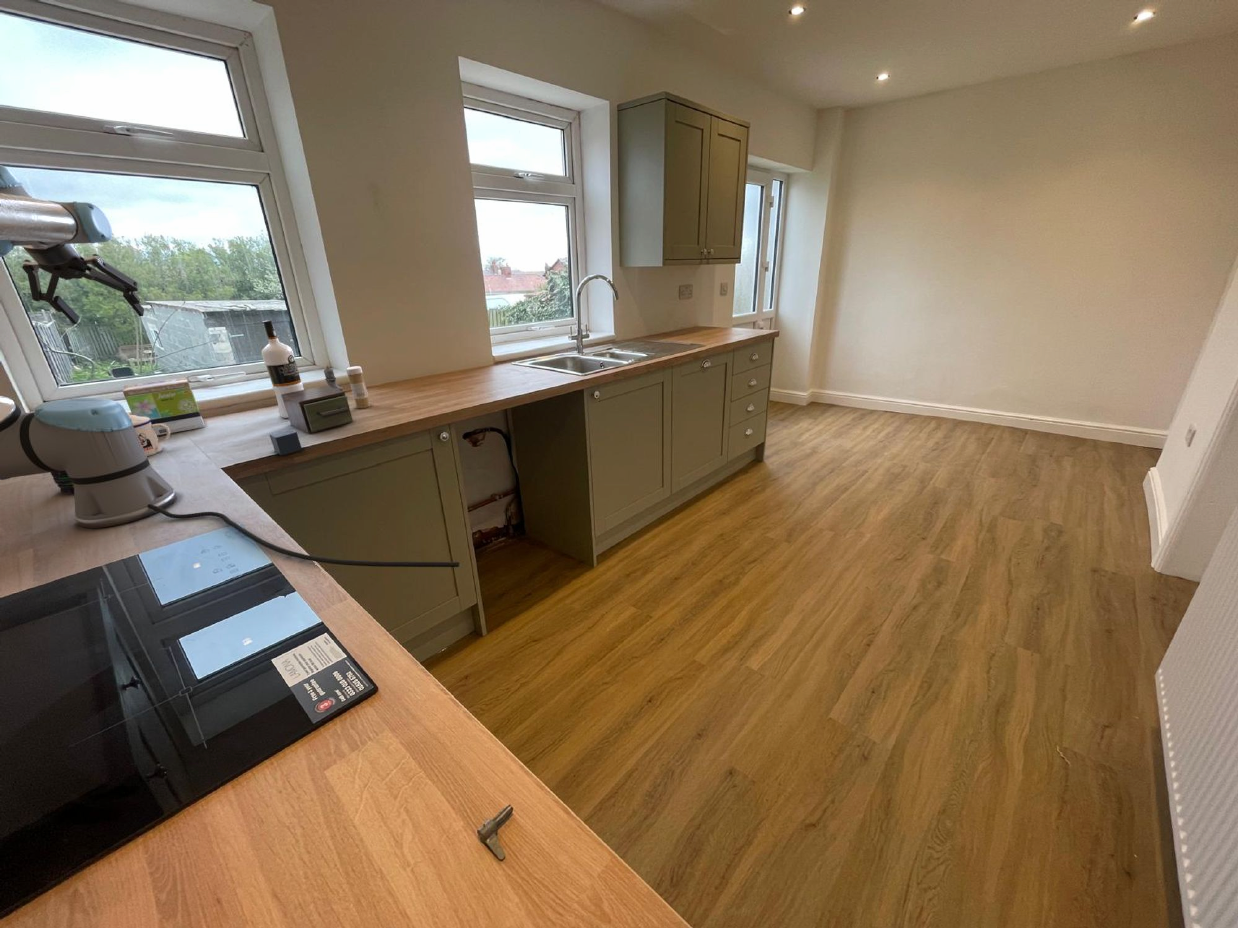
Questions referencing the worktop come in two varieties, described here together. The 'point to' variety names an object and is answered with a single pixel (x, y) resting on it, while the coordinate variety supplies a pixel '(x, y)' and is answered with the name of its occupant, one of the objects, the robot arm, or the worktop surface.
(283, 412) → the vodka
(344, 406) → the drawer
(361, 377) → the sprinkles bottle
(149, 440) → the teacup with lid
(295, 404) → the cabinet
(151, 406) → the tea box
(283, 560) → the worktop surface
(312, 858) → the worktop surface
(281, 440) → the block
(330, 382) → the grey figurine
